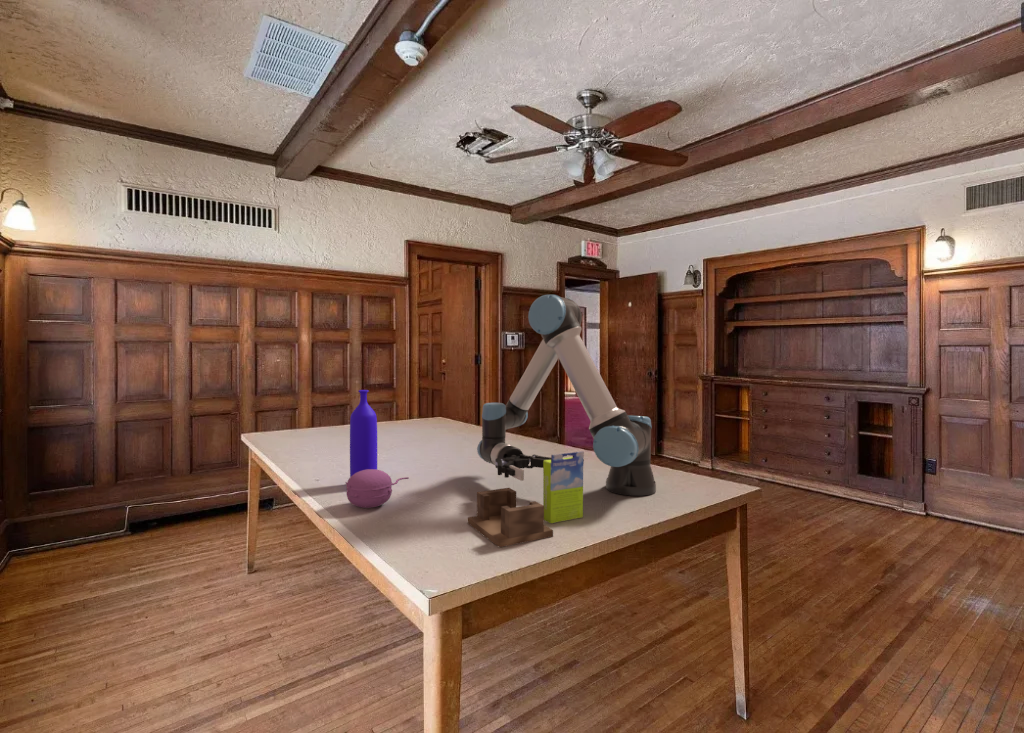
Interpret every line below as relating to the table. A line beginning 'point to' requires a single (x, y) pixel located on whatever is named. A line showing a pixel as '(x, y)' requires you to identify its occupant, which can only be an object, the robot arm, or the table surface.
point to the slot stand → (508, 518)
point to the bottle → (363, 436)
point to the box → (563, 487)
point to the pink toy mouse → (369, 488)
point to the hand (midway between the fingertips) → (544, 472)
